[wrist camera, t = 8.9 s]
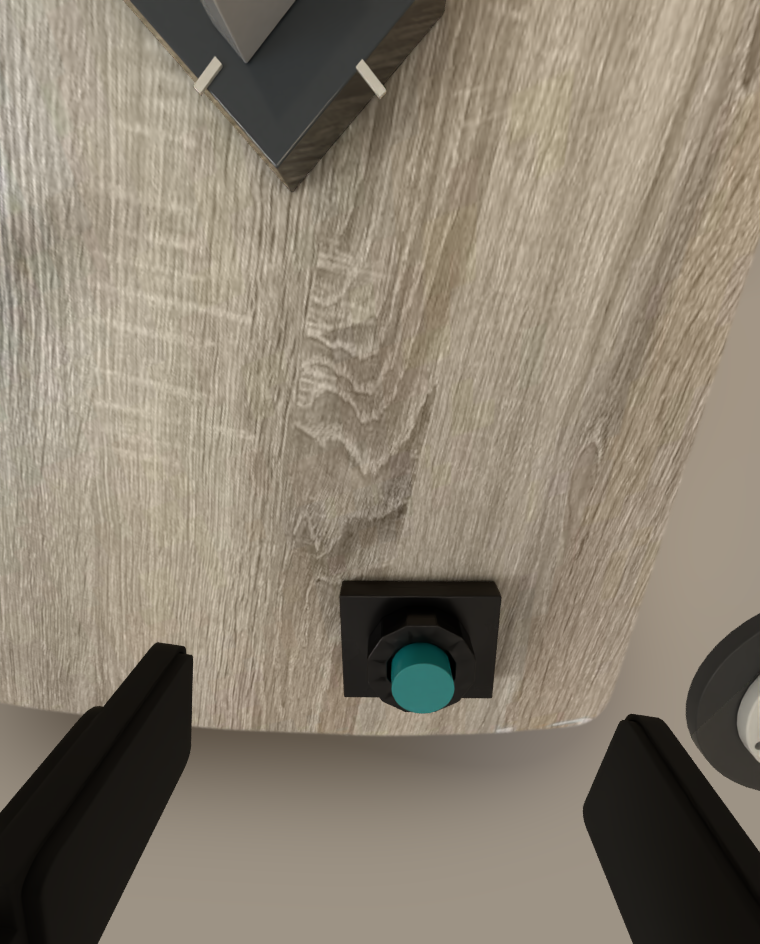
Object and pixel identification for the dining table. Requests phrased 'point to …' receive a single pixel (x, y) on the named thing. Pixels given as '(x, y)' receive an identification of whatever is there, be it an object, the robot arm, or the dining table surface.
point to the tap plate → (294, 69)
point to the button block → (418, 632)
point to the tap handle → (246, 21)
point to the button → (422, 678)
